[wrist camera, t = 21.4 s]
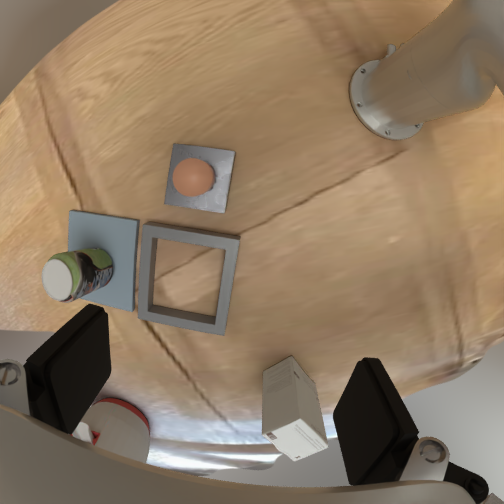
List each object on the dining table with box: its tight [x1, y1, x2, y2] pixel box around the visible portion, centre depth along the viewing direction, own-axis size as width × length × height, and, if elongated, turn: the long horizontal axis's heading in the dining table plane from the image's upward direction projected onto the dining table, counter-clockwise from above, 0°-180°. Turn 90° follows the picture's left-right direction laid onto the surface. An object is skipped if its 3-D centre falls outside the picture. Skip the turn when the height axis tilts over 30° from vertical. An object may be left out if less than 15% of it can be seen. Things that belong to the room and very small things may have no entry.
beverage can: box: [42, 248, 113, 303], centre depth 34 cm, size 6×7×12 cm
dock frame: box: [138, 222, 240, 336], centre depth 40 cm, size 14×13×2 cm
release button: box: [173, 158, 215, 197], centre depth 34 cm, size 4×4×4 cm
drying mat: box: [68, 210, 140, 312], centre depth 40 cm, size 14×12×1 cm
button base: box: [164, 144, 236, 213], centre depth 37 cm, size 8×8×2 cm
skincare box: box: [262, 356, 329, 461], centre depth 38 cm, size 8×6×15 cm
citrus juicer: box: [69, 398, 150, 463], centre depth 39 cm, size 16×17×20 cm
